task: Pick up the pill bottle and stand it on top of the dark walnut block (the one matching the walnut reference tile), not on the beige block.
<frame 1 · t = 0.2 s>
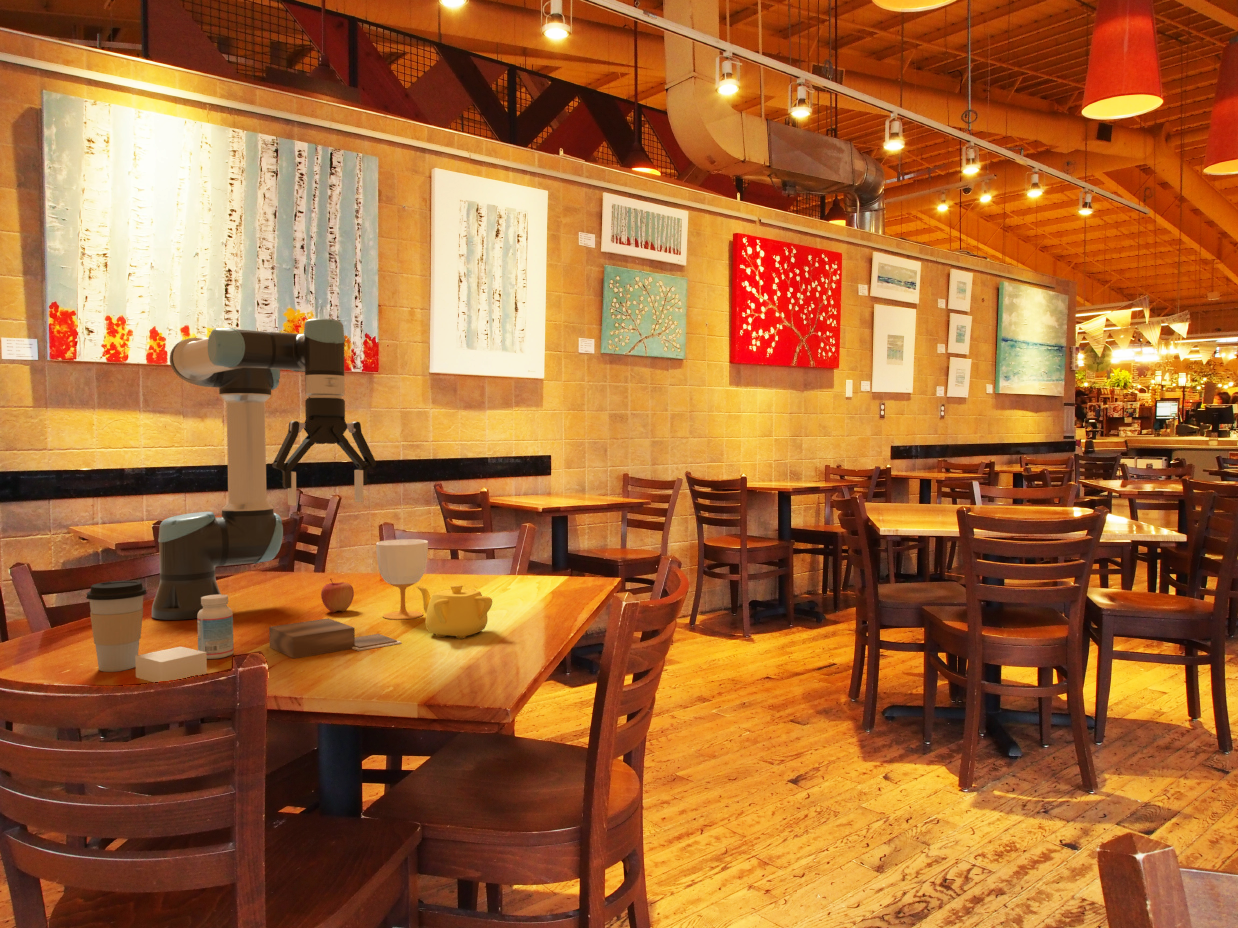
hand: (326, 503, 175), 28 cm above the table, fingers open, 13 cm apart
walnut block: (312, 647, 171), on the table
cup: (403, 616, 201), on the table
coffee cup: (118, 668, 156), on the table
teapot: (454, 634, 183), on the table
reference tile: (369, 642, 174), on the table
beige block: (171, 676, 151), on the table
apple: (337, 612, 206), on the table
pill bottle: (215, 656, 164), on the table
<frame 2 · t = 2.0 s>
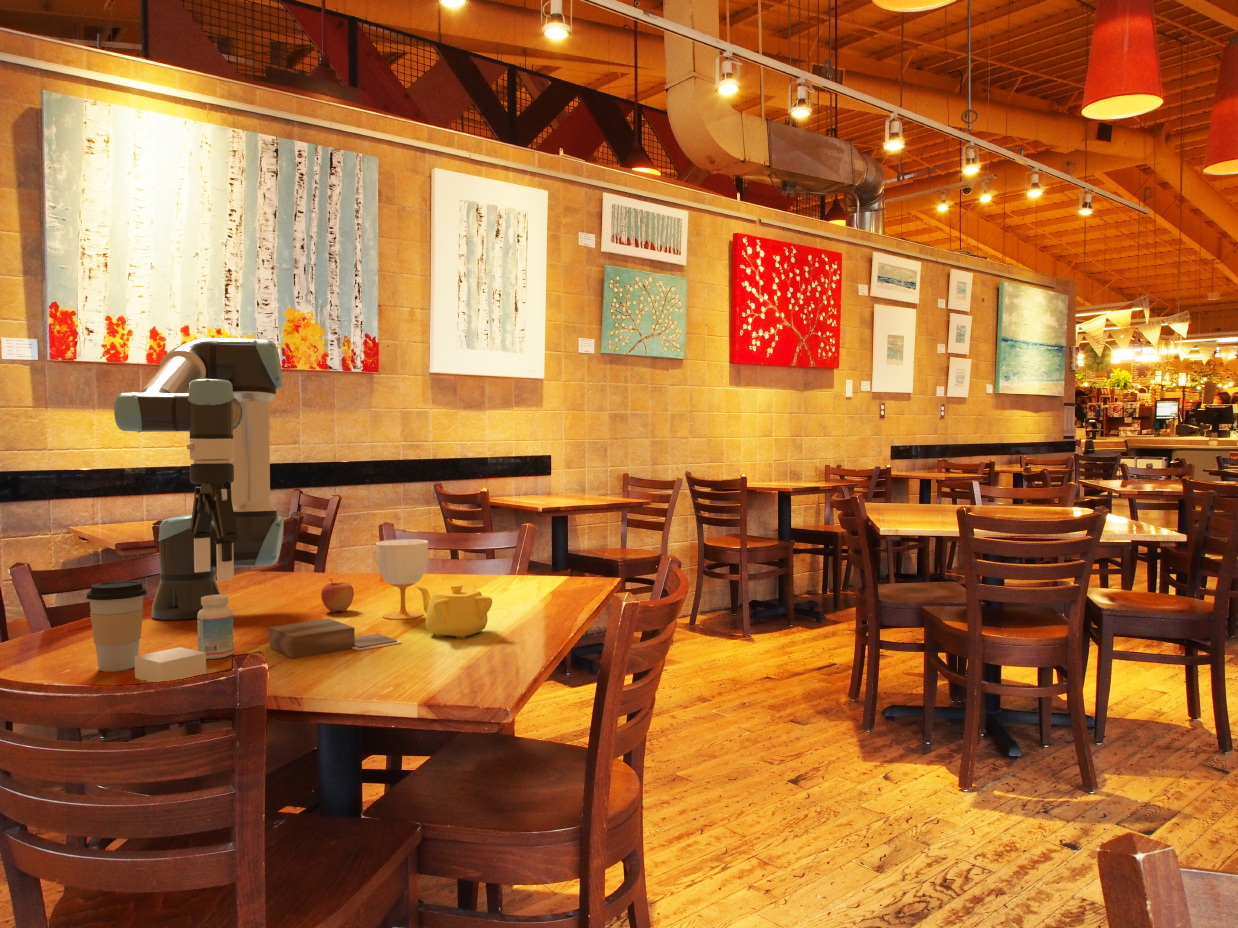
hand: (213, 575, 164), 15 cm above the table, fingers open, 13 cm apart
nothing on the table moved.
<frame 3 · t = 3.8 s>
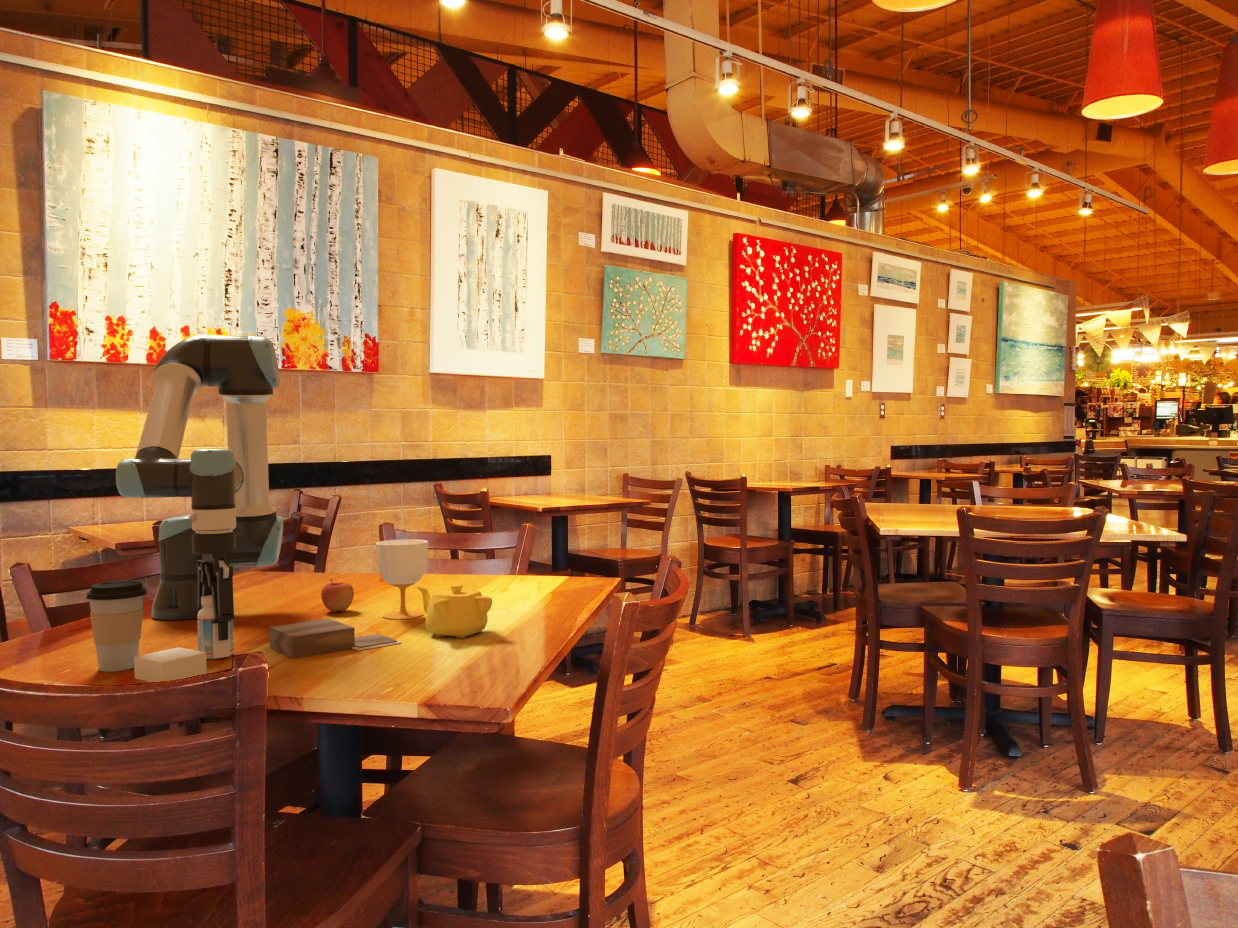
hand: (215, 653, 164), 0 cm above the table, fingers closed on pill bottle, 6 cm apart
pill bottle: (215, 656, 164), on the table, touching gripper
everything else where it was.
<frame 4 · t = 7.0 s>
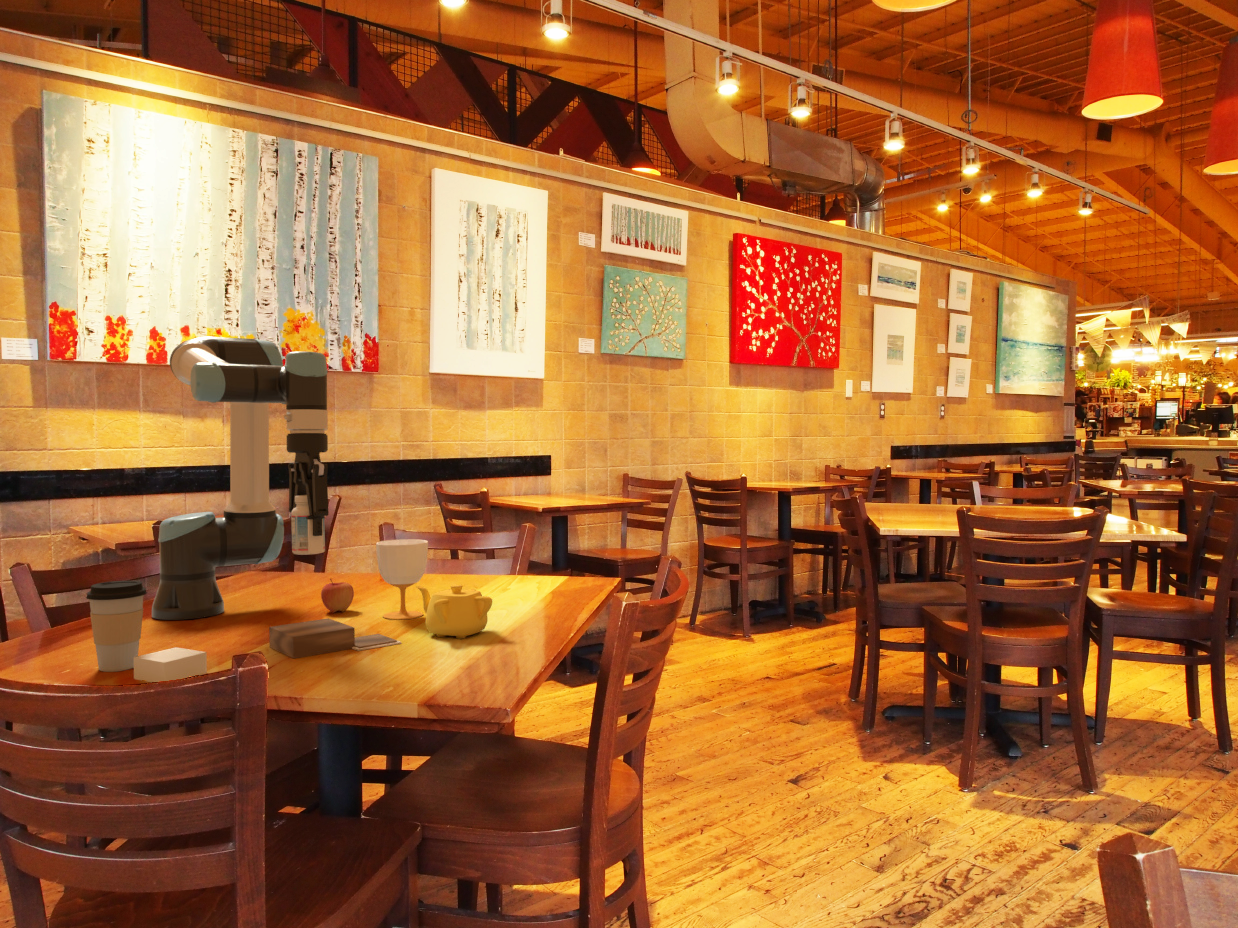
hand: (308, 550, 170), 19 cm above the table, fingers closed on pill bottle, 6 cm apart
pill bottle: (308, 554, 170), point 18 cm above the table, touching gripper
everything else where it was.
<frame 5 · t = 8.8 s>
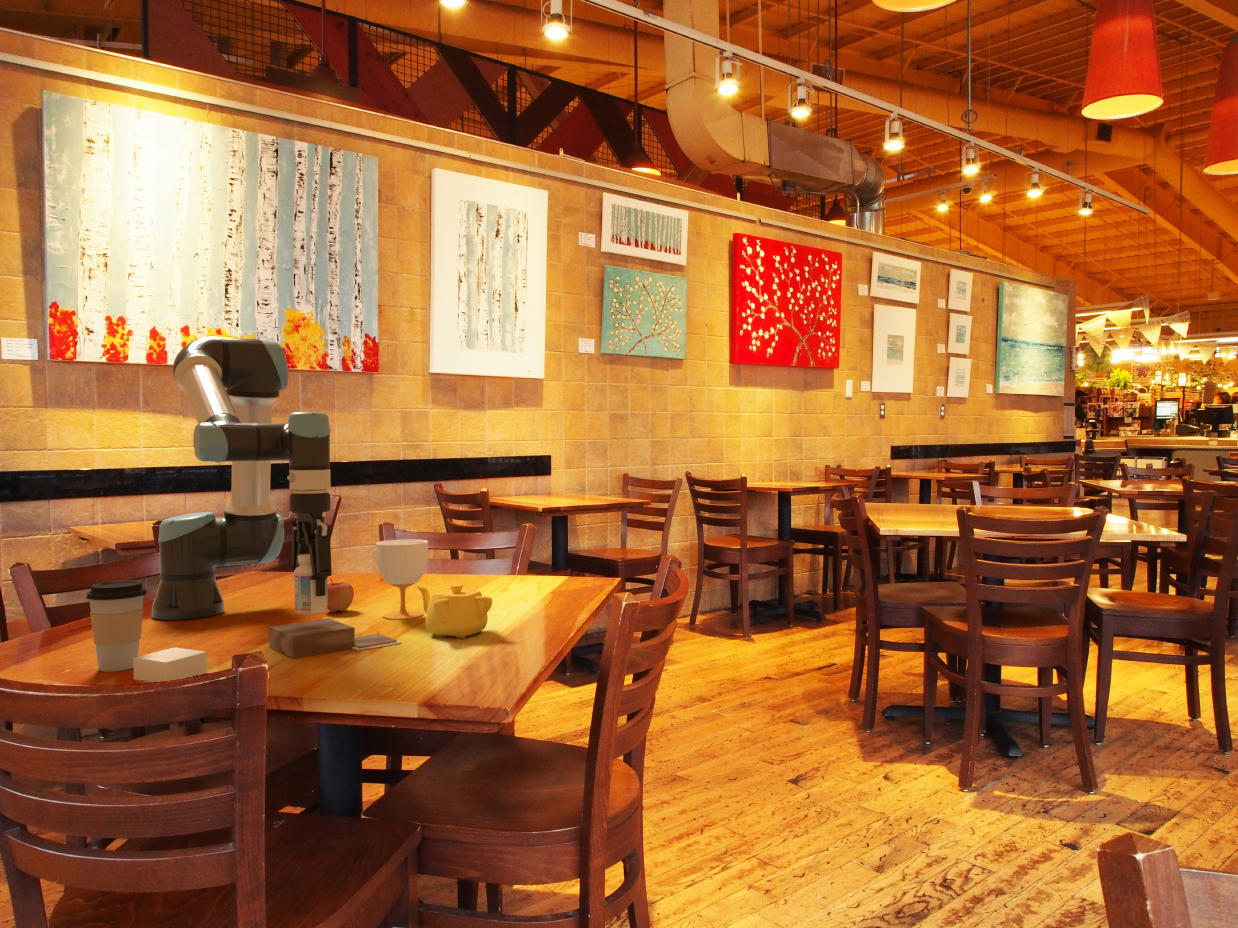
hand: (311, 609, 170), 7 cm above the table, fingers closed on pill bottle, 6 cm apart
pill bottle: (311, 613, 170), point 7 cm above the table, touching gripper
everything else where it was.
when the fingers open (7 cm above the table, at t = 10.0 s): pill bottle drops 2 cm, resting on walnut block.
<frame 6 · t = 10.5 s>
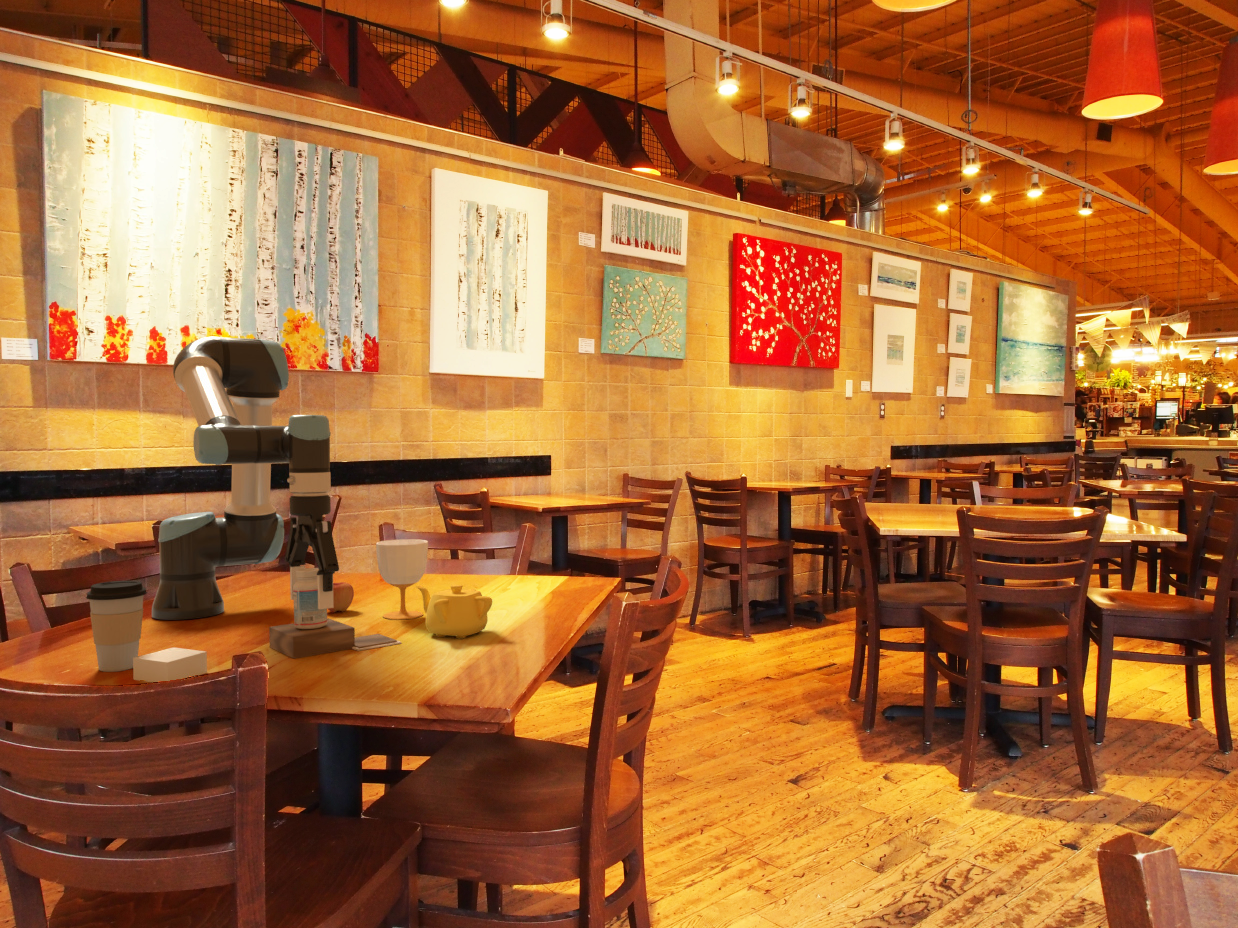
hand: (311, 603, 170), 9 cm above the table, fingers open, 13 cm apart
pill bottle: (310, 627, 171), point 4 cm above the table, touching walnut block
everything else where it was.
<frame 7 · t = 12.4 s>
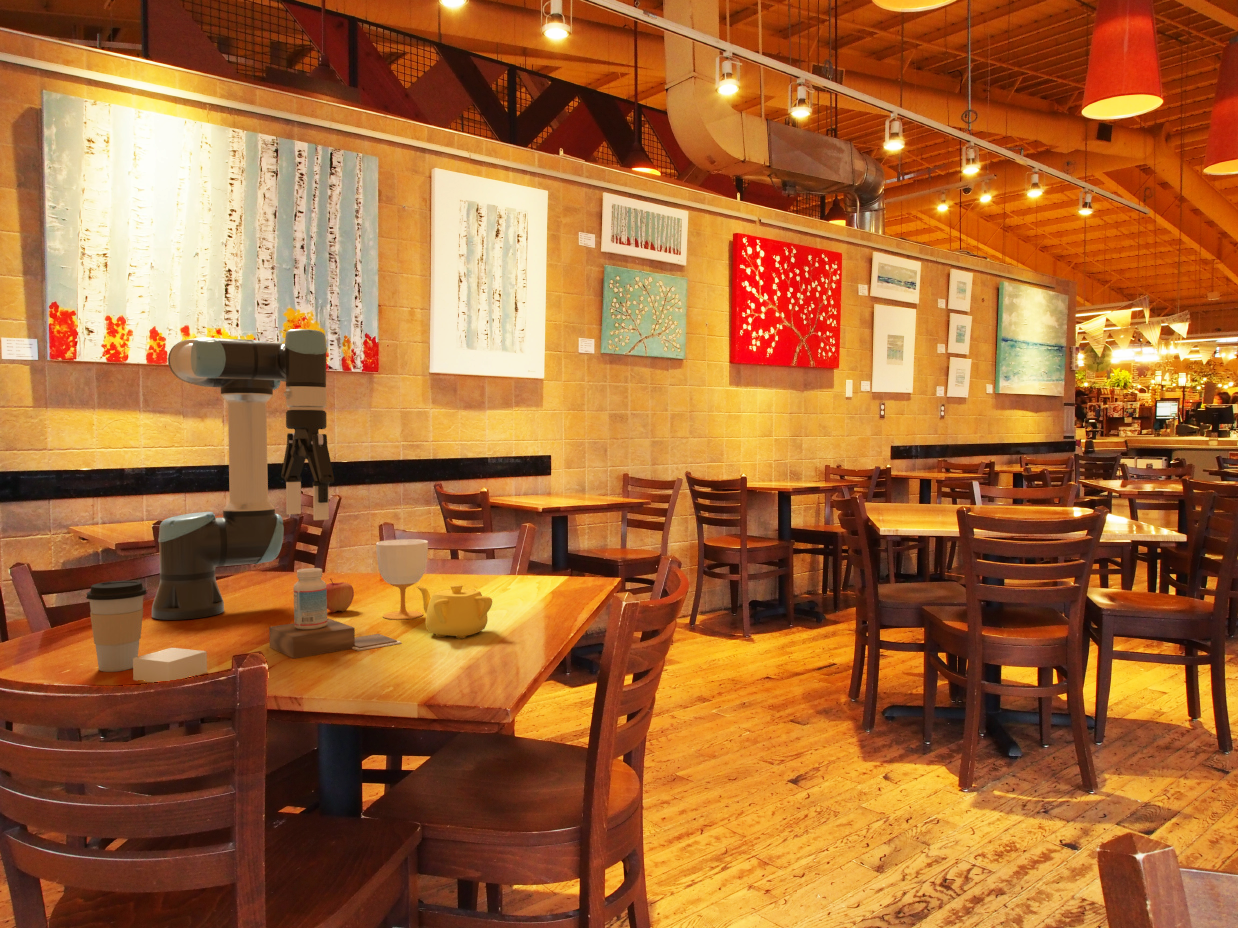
hand: (307, 516, 173), 25 cm above the table, fingers open, 13 cm apart
nothing on the table moved.
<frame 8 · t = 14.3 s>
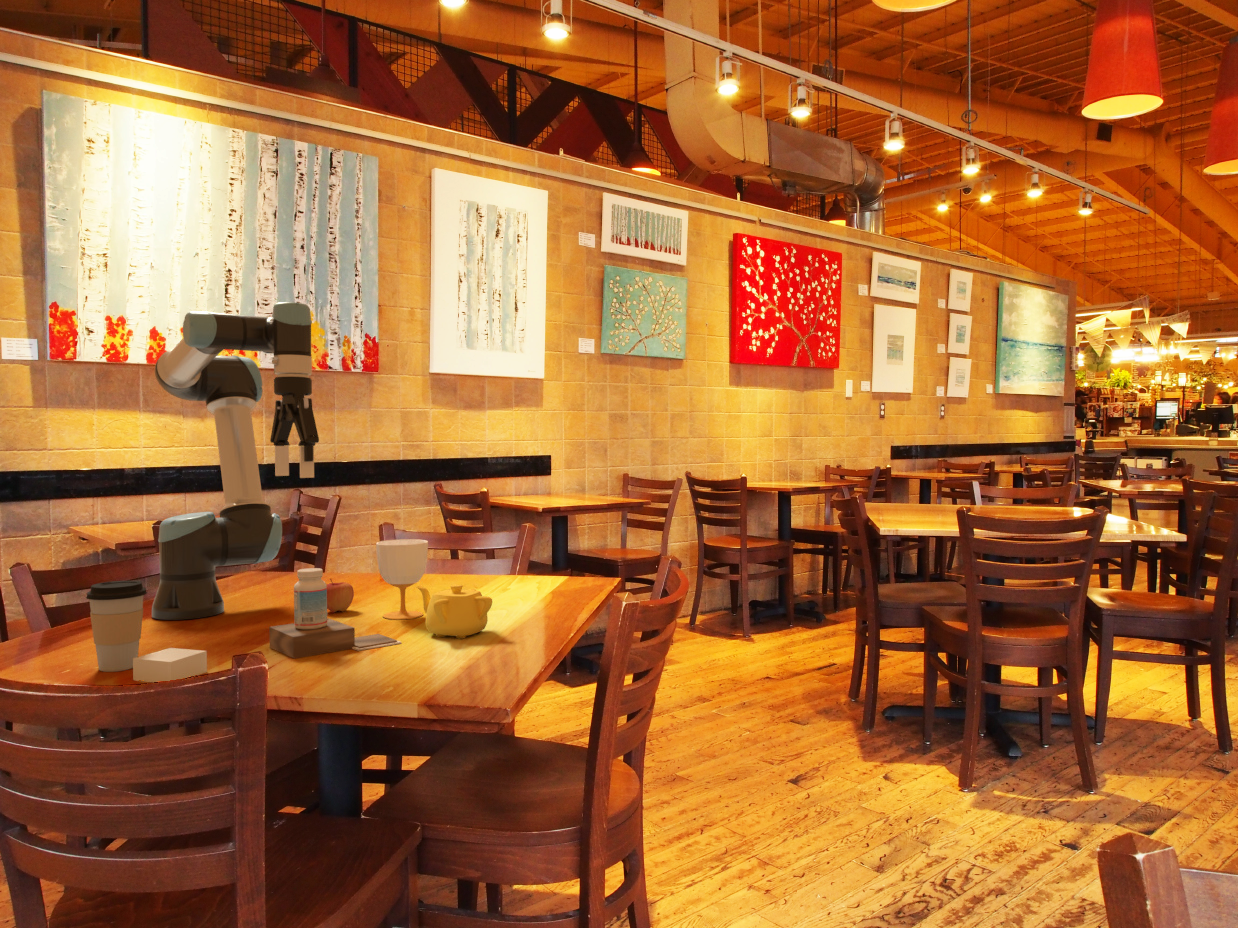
hand: (294, 476, 186), 33 cm above the table, fingers open, 13 cm apart
nothing on the table moved.
at the end: pill bottle inside the target area on the walnut block (0.3 cm from its centre), point 3.8 cm above the walnut block's base; pill bottle tilted 0°; the gripper is holding nothing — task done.
